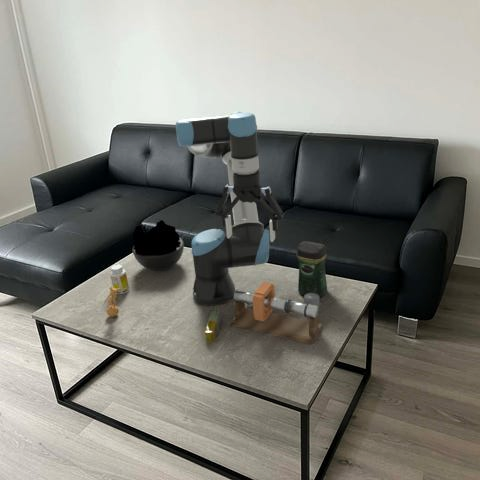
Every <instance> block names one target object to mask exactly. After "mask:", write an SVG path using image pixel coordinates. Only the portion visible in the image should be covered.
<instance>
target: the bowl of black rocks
mask: <svg viewBox="0 0 480 480" xmlns="http://www.w3.org/2000/svg"><path fill="white" fill-rule="evenodd" d="M176 230H177V228H176V227H175V226H173V225H170V224H167V223H166V222H165V221H164V220H162V219H160V220H159V221H158V222H156V224H155V226H153V227H152V228H150V229H149V230H148V231H147V232H145V233H144V232H142V231H141V226H140V225H136V227H135V228H134V232H133V233H132V238H133V246H132V253H133V256H134V258H135V260H136V261H137V263H139V265H141V266H142V267H144V268H145V269H147V270H151V271H153V272H154V271H155V272H160V271H161V272H162V271H166V270H169V269H170V268H172V267H173V266H175V265H176V264H177V263H179V262H178V261H180V259H181V258H182V255H183V252H184V247H185V244H184V240H183V238H181V237H180V234H179V232H177V231H176Z"/></svg>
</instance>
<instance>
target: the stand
mask: <svg viewBox="0 0 480 480" xmlns="http://www.w3.org/2000/svg"><path fill="white" fill-rule="evenodd" d="M233 310H234V311H233V312H234V318H233V319H232V321H231V322H230V323H231V326H232V327H233V326H234V327H238V328H242V329H245V330H249V331H253V332H258V333H262V334H265V335H267V334H268V335H271V336H275V337H281V338H284V339H287V340H292V341H296V342H297V341H298V342H301V343H306V344H309V345H314V342H315V340H316V339H317V337H318V335H319V334H320V331H321V330H322V327H323V323H320V312H319V313H318V314H317V317H316V318H313V317H309V319H308V320H306V319H305V320H304V319H302V318H296V317H290V316H286V315H282V314H277V313H273V312H272V313H271V314H270V315H269V317H268V318H267V319H266V320H264V321H260V320H255V317H254V311H253V308H249V307H246V303H242V302H237V301H234V303H233Z"/></svg>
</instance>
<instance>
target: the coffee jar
mask: <svg viewBox="0 0 480 480" xmlns="http://www.w3.org/2000/svg"><path fill="white" fill-rule="evenodd" d="M327 255H328V254H327V247H326V245H325V244H322V243H317V242H312V241H306V240H303V241H302V242H300V243H299V244H298V246H297V250H296V258H297V261H298V283H297V292H298V293H299V294H301V295H304V296H305V295H306V294H308V293H316V294H318V295H319V298H320V297H322V296H324V295H325V294H326V292H327V290H328V285H327V284H328V283H327V275H326V266H325V265H326V264H325V263H326V258H327Z"/></svg>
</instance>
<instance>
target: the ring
mask: <svg viewBox="0 0 480 480" xmlns="http://www.w3.org/2000/svg"><path fill="white" fill-rule="evenodd" d="M275 290H276V289H275V284H274V283H272V282H269V281H263V282H262V283H261V284H260V285H259V286H258V288H257V289H256V290H255V291H254V293H255V294H254V295H253V305H252V309H253V311H254V317H255V320H260V321H264V320H266V319H267V318H268V317H269V315H270V314H271V313H273V311H274V309H270V308H265V307H264V300H265V297H266V296H270V297H275V298H276V291H275Z"/></svg>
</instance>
